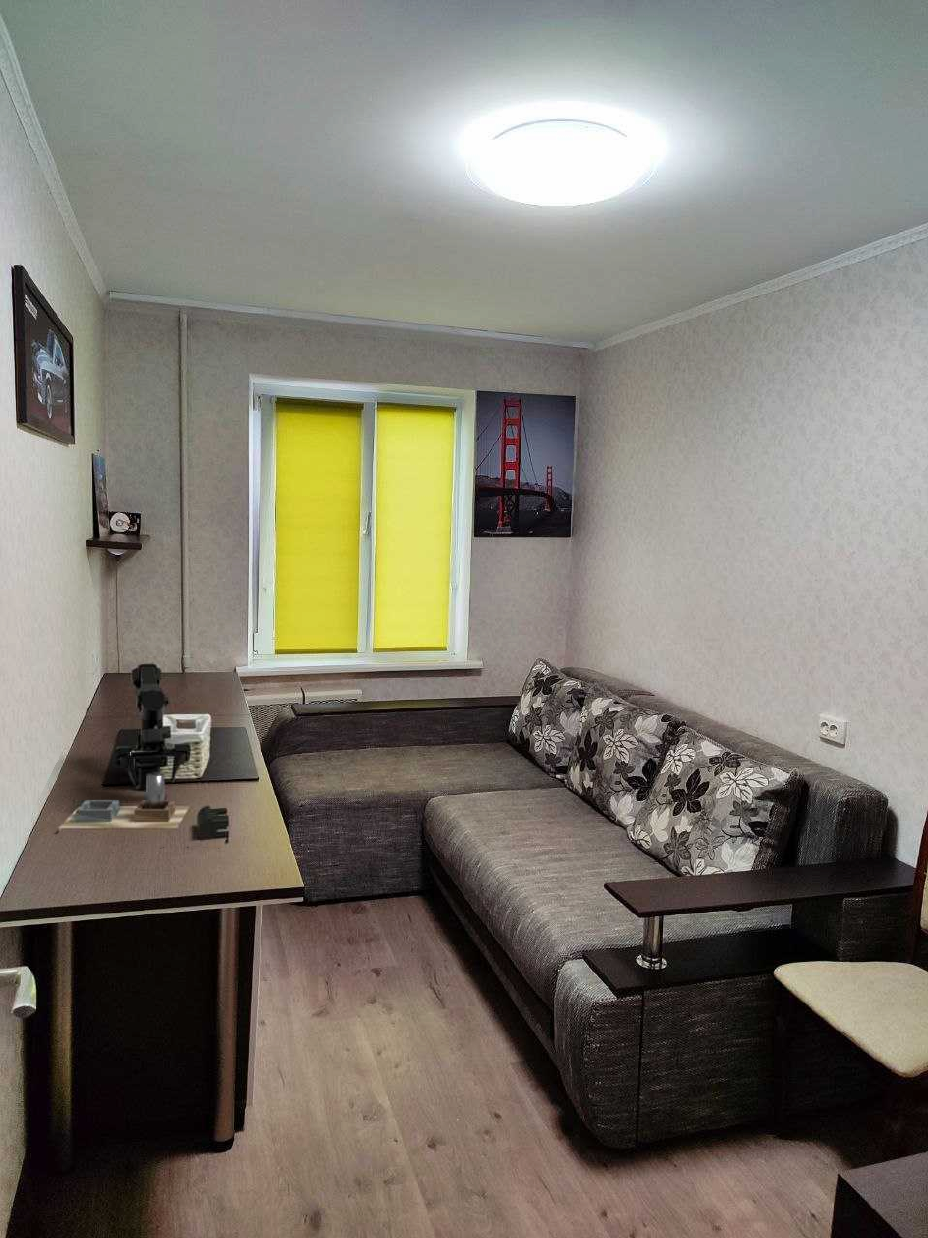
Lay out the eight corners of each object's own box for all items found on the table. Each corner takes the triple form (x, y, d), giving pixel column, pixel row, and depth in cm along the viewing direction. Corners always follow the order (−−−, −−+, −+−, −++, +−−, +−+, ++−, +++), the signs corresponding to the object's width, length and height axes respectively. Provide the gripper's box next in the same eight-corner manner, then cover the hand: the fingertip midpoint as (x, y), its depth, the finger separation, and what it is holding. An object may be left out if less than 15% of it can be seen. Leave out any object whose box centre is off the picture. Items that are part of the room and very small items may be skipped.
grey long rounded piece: (148, 813, 229) (148, 772, 228) (166, 813, 229) (166, 772, 228) (144, 819, 225) (144, 777, 223) (162, 819, 225) (162, 777, 224)
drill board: (79, 812, 233) (79, 795, 232) (189, 811, 236) (189, 795, 235) (58, 834, 217) (58, 816, 216) (177, 833, 220) (177, 816, 220)
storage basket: (204, 780, 263) (203, 731, 261) (146, 781, 260) (145, 732, 258) (212, 758, 286) (212, 713, 284) (160, 759, 283) (159, 713, 282)
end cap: (196, 832, 222) (196, 806, 221) (226, 830, 224) (226, 804, 223) (198, 847, 212) (198, 819, 212) (228, 844, 215) (229, 817, 214)
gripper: (114, 717, 230) (115, 770, 221) (190, 713, 237) (193, 765, 228) (115, 738, 238) (115, 791, 230) (187, 734, 245) (190, 786, 237)
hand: (154, 783), depth 231 cm, fingers open, 9 cm apart
